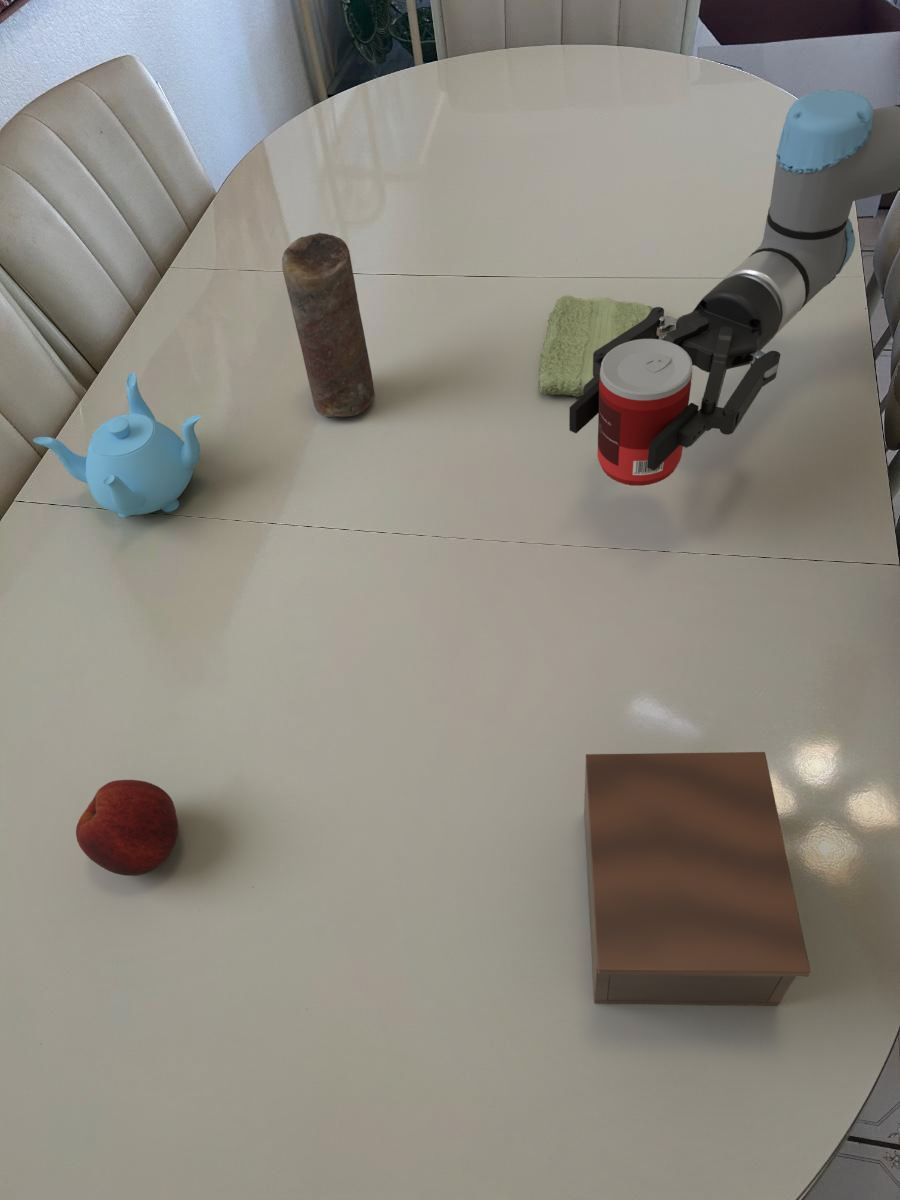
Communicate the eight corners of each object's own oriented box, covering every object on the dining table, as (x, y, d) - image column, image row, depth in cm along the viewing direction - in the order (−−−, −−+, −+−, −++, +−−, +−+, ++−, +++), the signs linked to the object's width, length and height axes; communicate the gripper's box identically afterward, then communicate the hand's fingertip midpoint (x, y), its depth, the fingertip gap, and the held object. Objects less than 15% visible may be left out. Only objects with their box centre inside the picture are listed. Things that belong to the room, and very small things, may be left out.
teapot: (230, 484, 105) (203, 414, 97) (135, 555, 99) (98, 488, 91) (161, 438, 111) (130, 369, 103) (69, 503, 105) (28, 435, 97)
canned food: (697, 453, 88) (711, 357, 80) (646, 501, 85) (655, 407, 77) (631, 421, 92) (637, 326, 84) (580, 465, 89) (581, 372, 80)
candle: (384, 385, 113) (355, 232, 97) (371, 426, 108) (338, 272, 93) (324, 383, 114) (285, 231, 98) (308, 423, 110) (265, 271, 94)
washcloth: (656, 314, 116) (658, 291, 113) (644, 407, 106) (646, 384, 103) (551, 310, 119) (551, 287, 116) (529, 400, 108) (528, 378, 106)
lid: (808, 977, 57) (810, 972, 57) (598, 974, 59) (598, 970, 58) (763, 757, 68) (765, 751, 67) (585, 759, 69) (585, 753, 68)
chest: (778, 1006, 66) (802, 966, 59) (594, 1003, 67) (597, 965, 60) (745, 811, 75) (763, 757, 68) (584, 812, 76) (585, 759, 69)
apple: (135, 793, 81) (99, 747, 75) (210, 821, 79) (179, 777, 73) (84, 870, 77) (42, 829, 71) (162, 902, 75) (125, 863, 69)
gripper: (837, 377, 90) (709, 518, 80) (655, 308, 99) (521, 426, 90) (856, 309, 84) (719, 453, 74) (661, 243, 93) (518, 362, 84)
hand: (611, 438), depth 82 cm, fingers closed on canned food, 8 cm apart
